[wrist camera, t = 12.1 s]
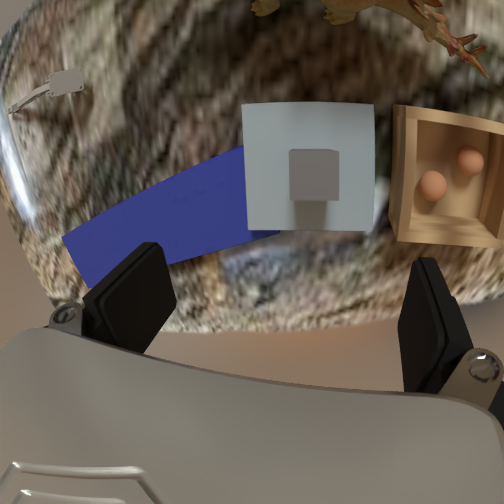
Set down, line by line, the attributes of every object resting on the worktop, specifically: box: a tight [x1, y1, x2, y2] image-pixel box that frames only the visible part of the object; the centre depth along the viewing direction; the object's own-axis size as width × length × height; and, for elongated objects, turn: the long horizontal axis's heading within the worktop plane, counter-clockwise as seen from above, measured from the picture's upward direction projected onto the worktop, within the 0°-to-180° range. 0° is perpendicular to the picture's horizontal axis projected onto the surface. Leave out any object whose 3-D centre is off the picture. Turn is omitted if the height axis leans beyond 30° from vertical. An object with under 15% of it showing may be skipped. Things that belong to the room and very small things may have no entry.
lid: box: [242, 102, 375, 231], centre depth 24 cm, size 12×12×9 cm
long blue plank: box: [61, 145, 281, 288], centre depth 38 cm, size 34×3×10 cm
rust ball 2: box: [457, 146, 484, 176], centre depth 22 cm, size 3×3×3 cm
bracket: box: [6, 68, 84, 115], centre depth 31 cm, size 3×21×10 cm, turn 91°
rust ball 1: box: [419, 171, 447, 201], centre depth 25 cm, size 3×3×3 cm
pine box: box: [388, 104, 504, 249], centre depth 23 cm, size 12×12×6 cm
